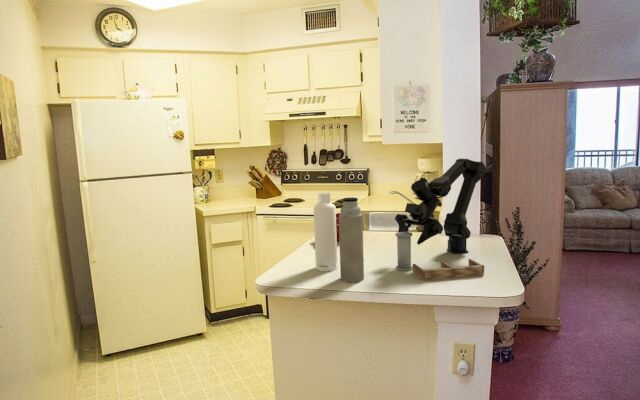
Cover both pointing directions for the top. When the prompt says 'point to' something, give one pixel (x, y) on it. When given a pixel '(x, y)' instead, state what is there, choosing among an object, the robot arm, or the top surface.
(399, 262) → the cord reel
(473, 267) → the rack
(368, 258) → the top surface
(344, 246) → the thermos bottle
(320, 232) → the bottle
